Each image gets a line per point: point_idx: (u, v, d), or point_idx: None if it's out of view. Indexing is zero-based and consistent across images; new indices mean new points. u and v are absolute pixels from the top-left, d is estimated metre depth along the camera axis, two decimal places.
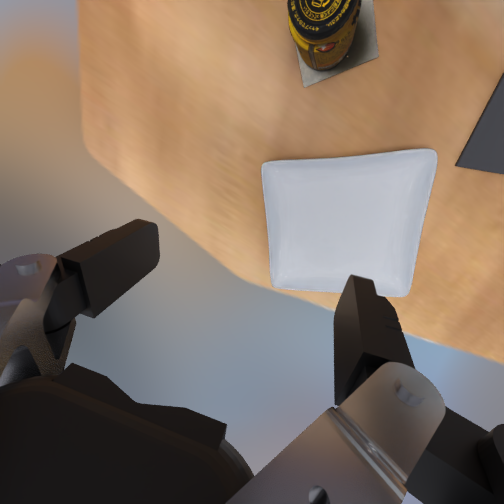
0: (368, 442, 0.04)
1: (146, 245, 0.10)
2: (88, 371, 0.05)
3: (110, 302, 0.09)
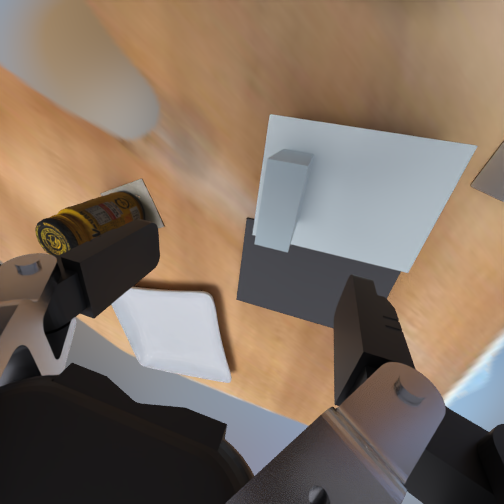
0: (368, 442, 0.04)
1: (146, 245, 0.10)
2: (88, 371, 0.05)
3: (110, 302, 0.09)
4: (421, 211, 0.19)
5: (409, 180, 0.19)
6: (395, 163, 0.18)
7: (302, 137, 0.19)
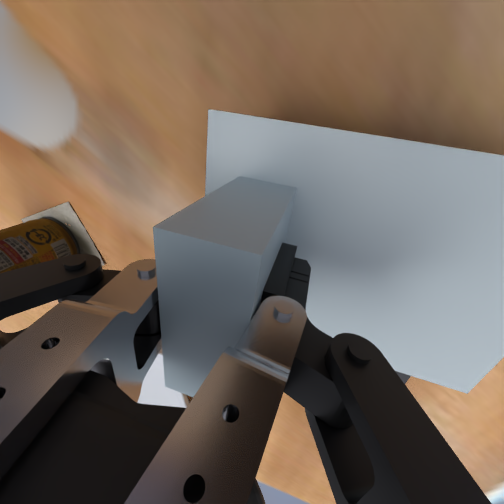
0: (261, 359, 0.05)
1: None
2: (88, 371, 0.05)
3: None
4: None
5: (492, 246, 0.09)
6: (464, 212, 0.09)
7: (273, 155, 0.10)
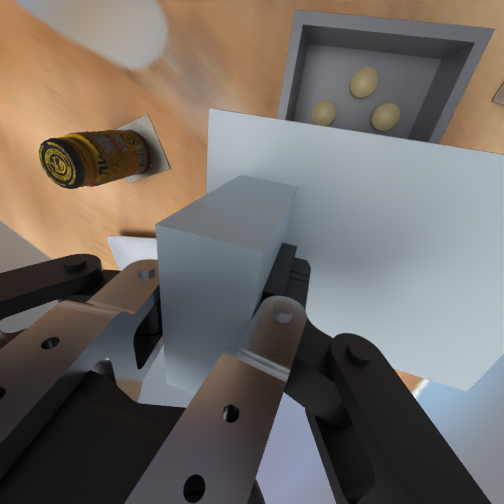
0: (261, 359, 0.05)
1: None
2: (88, 371, 0.05)
3: None
4: None
5: (490, 244, 0.09)
6: (463, 210, 0.09)
7: (274, 154, 0.10)
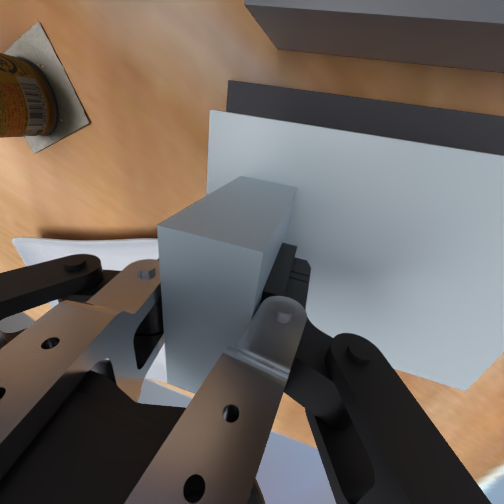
0: (261, 359, 0.05)
1: None
2: (88, 371, 0.05)
3: None
4: None
5: (489, 245, 0.09)
6: (462, 211, 0.09)
7: (274, 155, 0.10)
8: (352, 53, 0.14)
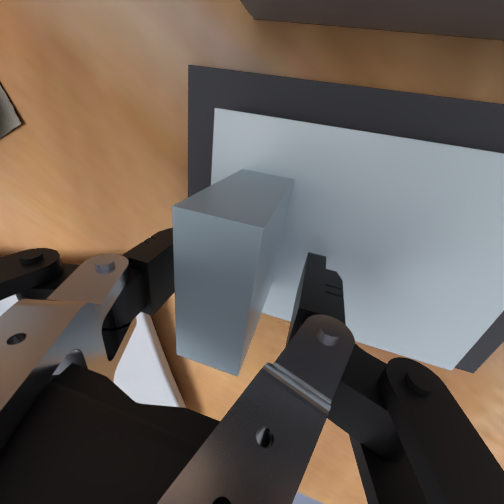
0: (301, 382, 0.05)
1: None
2: (88, 371, 0.05)
3: (164, 300, 0.09)
4: (486, 282, 0.11)
5: (469, 231, 0.10)
6: (444, 200, 0.10)
7: (273, 149, 0.11)
8: (361, 20, 0.09)
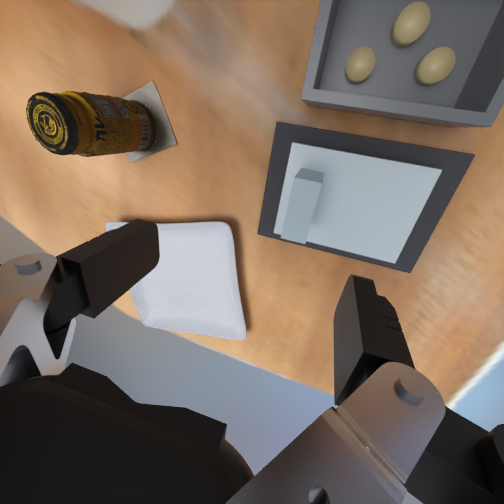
0: (368, 442, 0.04)
1: (146, 245, 0.10)
2: (88, 371, 0.05)
3: (110, 302, 0.09)
4: (404, 215, 0.26)
5: (395, 193, 0.25)
6: (384, 180, 0.25)
7: (316, 160, 0.26)
8: (352, 111, 0.25)
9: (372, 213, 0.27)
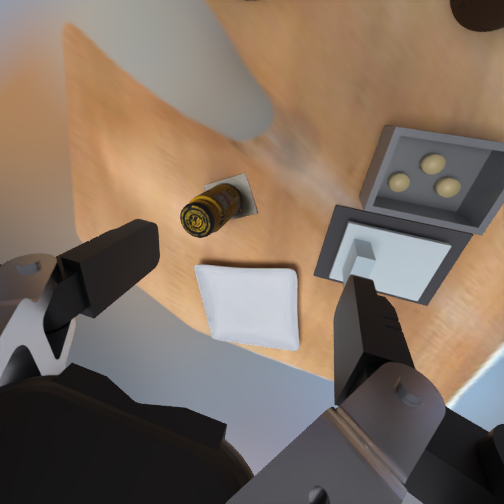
0: (368, 442, 0.04)
1: (146, 245, 0.10)
2: (88, 370, 0.05)
3: (110, 302, 0.09)
4: (425, 271, 0.38)
5: (419, 257, 0.38)
6: (412, 249, 0.37)
7: (365, 234, 0.38)
8: None
9: (402, 269, 0.39)
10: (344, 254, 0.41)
